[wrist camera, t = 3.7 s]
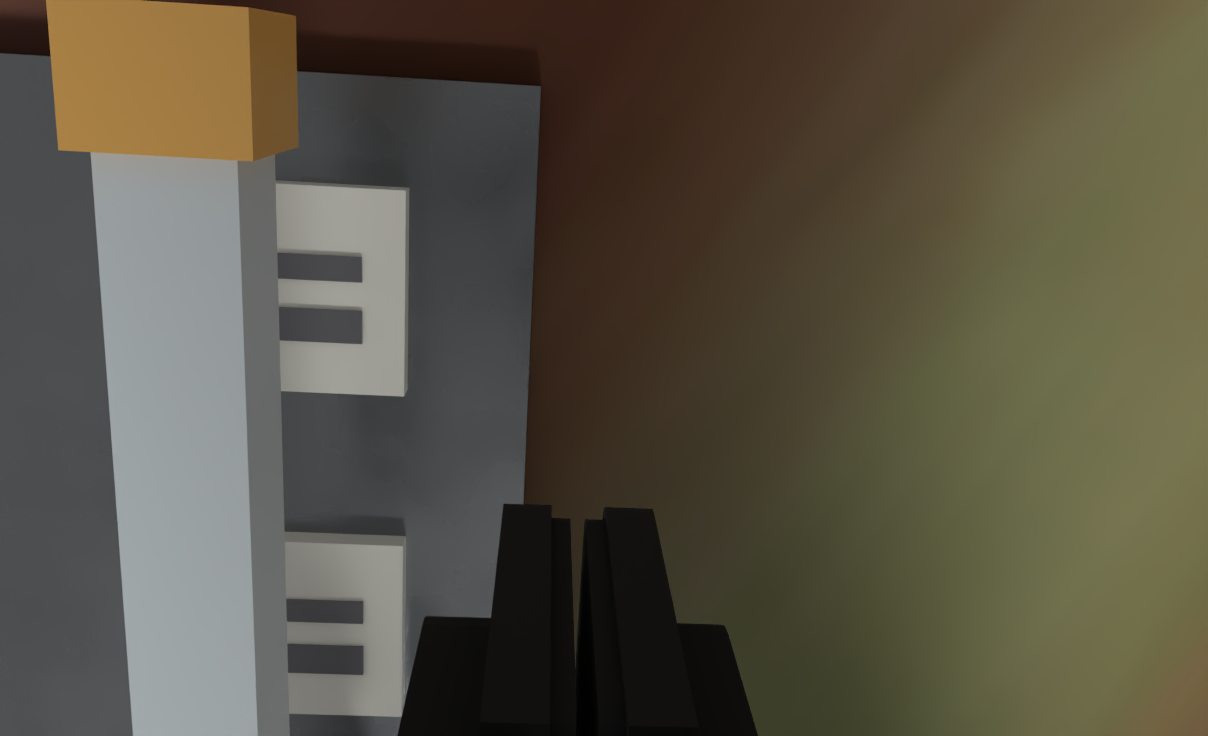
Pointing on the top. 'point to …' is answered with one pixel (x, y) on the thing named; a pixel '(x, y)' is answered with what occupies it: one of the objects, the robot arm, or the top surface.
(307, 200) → the label plate
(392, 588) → the label plate
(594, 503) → the top surface
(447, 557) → the board
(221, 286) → the bar
